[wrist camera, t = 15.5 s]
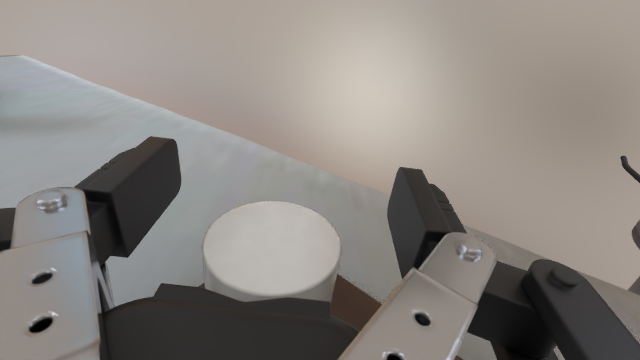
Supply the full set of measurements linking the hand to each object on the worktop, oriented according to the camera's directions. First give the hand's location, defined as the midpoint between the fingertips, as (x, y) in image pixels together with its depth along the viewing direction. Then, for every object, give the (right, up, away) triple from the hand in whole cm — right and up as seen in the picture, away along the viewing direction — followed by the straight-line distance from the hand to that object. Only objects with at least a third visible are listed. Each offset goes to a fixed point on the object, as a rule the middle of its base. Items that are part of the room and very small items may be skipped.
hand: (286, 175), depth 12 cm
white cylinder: (-1, -11, +4) cm, 11 cm away
